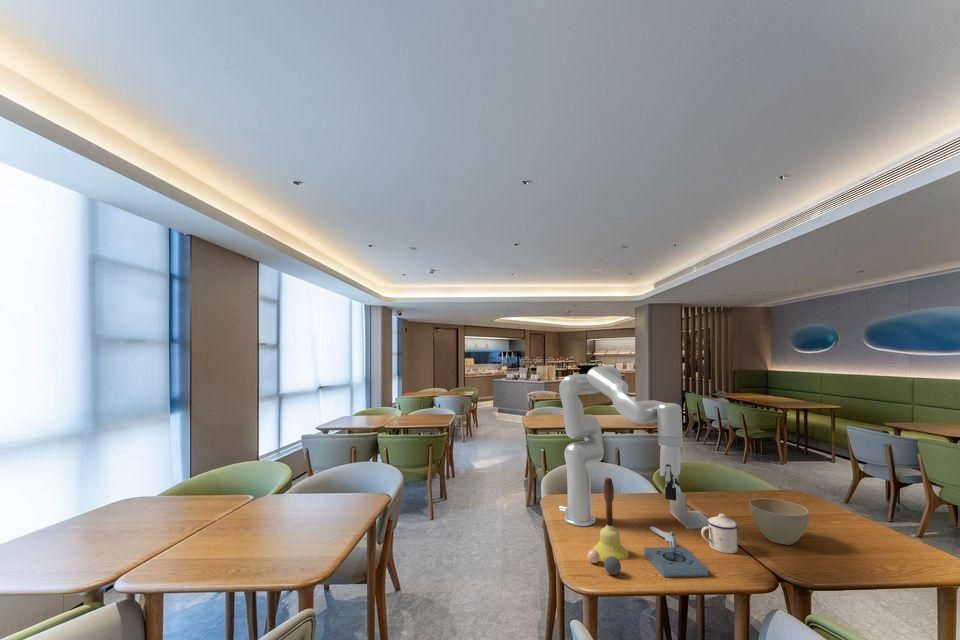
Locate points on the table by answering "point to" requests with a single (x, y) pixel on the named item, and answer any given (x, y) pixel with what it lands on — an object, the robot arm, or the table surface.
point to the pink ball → (593, 556)
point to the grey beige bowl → (779, 519)
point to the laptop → (687, 514)
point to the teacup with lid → (721, 534)
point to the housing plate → (672, 569)
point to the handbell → (610, 530)
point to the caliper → (666, 536)
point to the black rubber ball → (612, 565)
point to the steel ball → (676, 490)
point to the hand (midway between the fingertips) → (672, 496)
